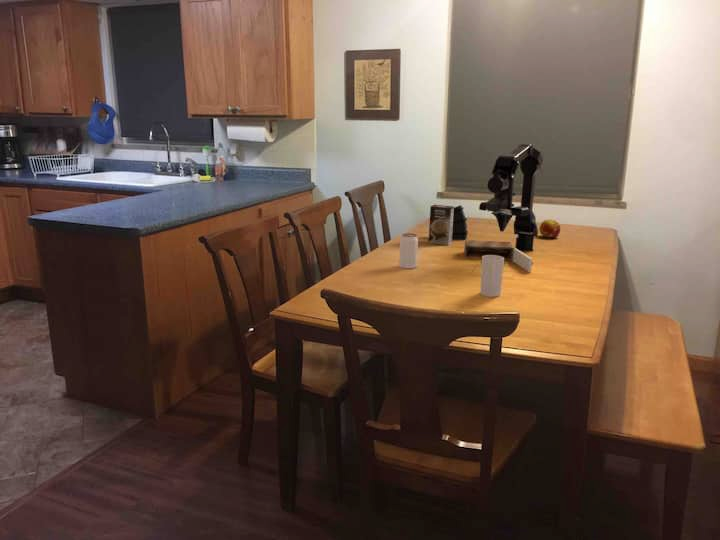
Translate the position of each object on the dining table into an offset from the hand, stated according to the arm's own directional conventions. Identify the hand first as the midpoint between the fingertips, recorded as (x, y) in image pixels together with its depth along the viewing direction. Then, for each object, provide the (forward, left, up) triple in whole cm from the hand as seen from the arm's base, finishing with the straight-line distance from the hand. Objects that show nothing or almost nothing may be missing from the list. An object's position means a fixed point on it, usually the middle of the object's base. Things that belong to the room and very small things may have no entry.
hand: (501, 231), depth 230 cm
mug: (+6, +44, -12) cm, 46 cm away
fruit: (-26, -51, -12) cm, 59 cm away
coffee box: (+23, -29, -12) cm, 39 cm away
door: (-8, +4, -12) cm, 15 cm away
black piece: (+18, -40, -12) cm, 46 cm away
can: (+34, +14, -12) cm, 39 cm away
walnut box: (+4, -9, -12) cm, 16 cm away
